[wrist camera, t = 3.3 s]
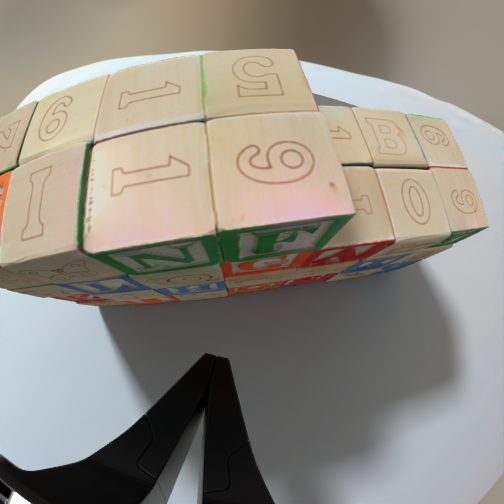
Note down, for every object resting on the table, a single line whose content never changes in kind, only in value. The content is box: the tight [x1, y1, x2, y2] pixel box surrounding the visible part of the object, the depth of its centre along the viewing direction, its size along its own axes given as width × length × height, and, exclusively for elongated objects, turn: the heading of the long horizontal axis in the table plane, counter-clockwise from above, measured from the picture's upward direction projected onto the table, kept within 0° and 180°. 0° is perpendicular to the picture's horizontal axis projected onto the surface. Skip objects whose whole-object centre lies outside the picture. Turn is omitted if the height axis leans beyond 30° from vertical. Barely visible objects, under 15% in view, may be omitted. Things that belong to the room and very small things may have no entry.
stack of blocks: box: [0, 49, 489, 306], centre depth 12 cm, size 21×6×12 cm, turn 98°
